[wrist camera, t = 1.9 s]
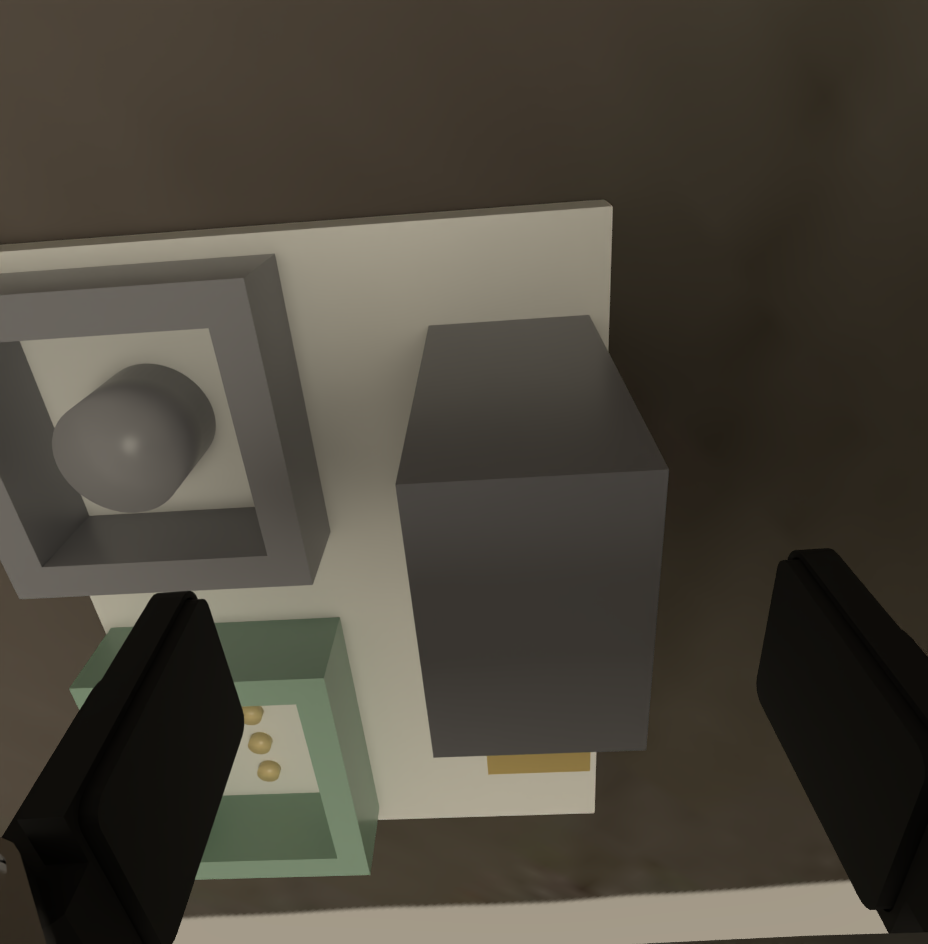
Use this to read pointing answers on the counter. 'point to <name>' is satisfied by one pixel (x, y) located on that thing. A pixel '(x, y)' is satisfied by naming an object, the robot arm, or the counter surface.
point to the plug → (531, 544)
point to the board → (269, 443)
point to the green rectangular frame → (277, 815)
